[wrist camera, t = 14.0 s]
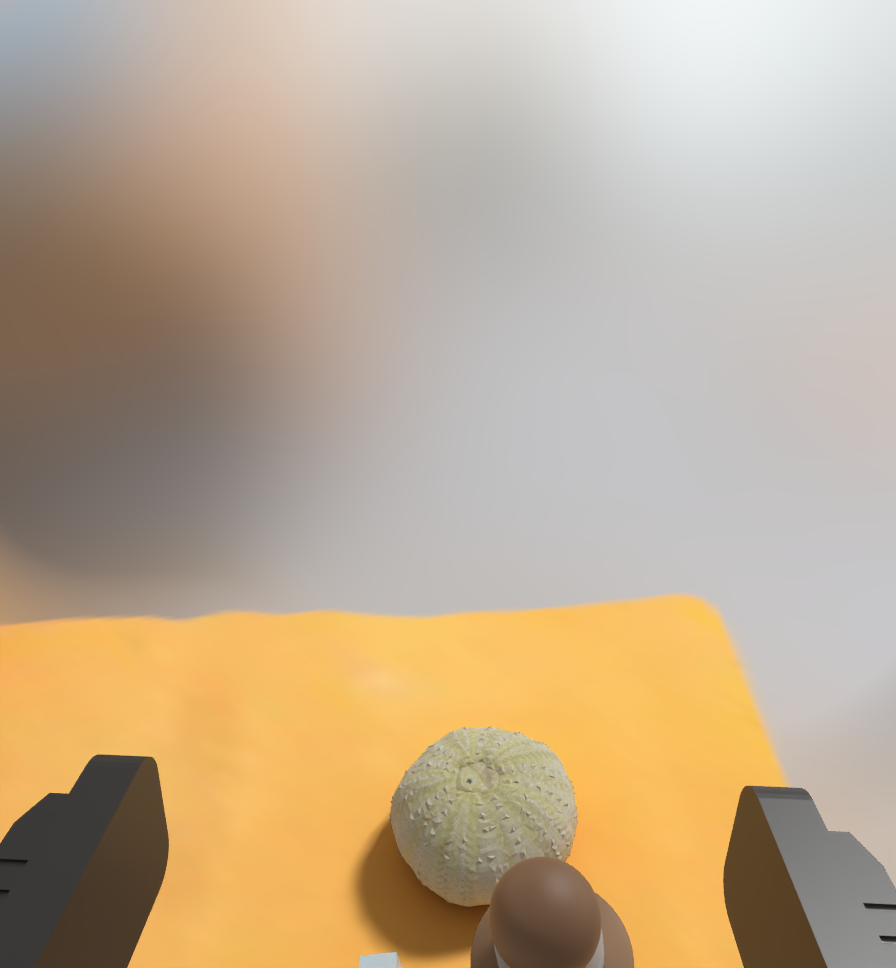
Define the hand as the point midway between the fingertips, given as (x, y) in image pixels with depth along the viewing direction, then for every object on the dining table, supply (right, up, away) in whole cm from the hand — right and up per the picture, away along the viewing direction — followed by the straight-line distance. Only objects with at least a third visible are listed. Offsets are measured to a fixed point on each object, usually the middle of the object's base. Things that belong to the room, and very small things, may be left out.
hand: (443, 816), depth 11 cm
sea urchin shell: (+2, -14, +31) cm, 34 cm away
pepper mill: (+5, -20, +20) cm, 29 cm away
